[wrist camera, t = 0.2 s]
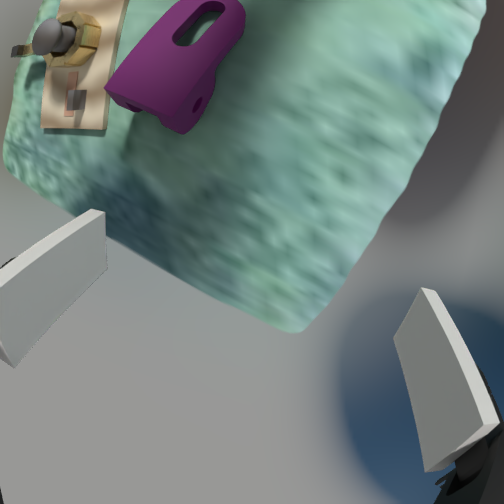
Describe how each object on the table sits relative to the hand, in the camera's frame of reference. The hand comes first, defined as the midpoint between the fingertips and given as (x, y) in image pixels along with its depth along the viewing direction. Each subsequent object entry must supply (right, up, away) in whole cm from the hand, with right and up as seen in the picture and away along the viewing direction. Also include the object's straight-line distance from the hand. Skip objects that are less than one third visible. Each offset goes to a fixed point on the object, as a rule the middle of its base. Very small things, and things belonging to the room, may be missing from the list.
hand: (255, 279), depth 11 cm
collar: (-29, +33, +18) cm, 48 cm away
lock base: (-25, +33, +19) cm, 46 cm away
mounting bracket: (-7, +26, +20) cm, 34 cm away
